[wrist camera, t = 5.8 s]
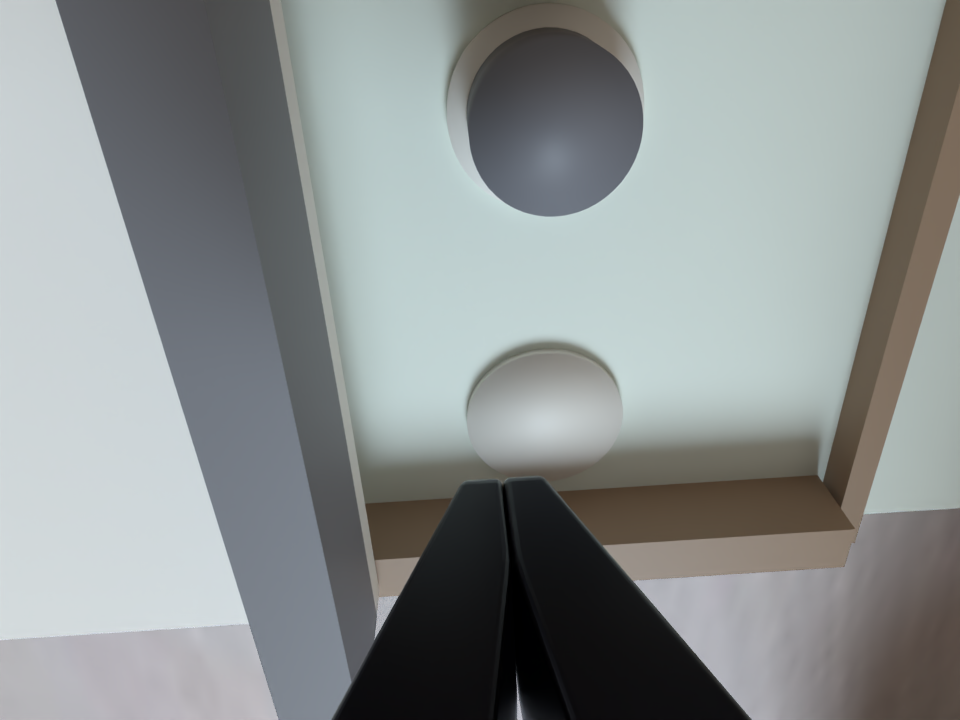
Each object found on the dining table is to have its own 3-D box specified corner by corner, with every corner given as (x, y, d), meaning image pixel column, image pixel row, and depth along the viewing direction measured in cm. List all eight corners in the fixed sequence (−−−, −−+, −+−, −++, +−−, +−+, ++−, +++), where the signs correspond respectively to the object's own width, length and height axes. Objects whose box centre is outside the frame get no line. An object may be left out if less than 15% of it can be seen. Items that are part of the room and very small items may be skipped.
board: (1299, 440, 17) (1458, 534, 14) (290, 504, 17) (261, 611, 14) (1719, -189, 11) (2131, -230, 8) (146, -108, 11) (45, -124, 8)
